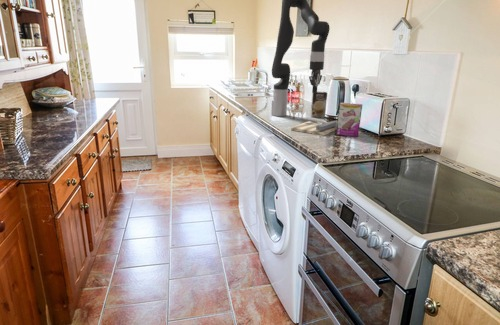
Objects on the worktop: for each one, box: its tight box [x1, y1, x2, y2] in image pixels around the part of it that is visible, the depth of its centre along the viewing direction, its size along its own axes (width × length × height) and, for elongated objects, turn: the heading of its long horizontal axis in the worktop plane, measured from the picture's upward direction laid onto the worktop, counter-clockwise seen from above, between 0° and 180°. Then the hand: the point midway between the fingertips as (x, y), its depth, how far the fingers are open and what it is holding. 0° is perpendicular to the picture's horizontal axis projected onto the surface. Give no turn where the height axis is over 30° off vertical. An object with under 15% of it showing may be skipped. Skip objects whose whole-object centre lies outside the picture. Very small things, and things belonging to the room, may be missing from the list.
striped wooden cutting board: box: [290, 119, 337, 136], centre depth 191 cm, size 20×25×2 cm
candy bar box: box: [335, 102, 363, 138], centre depth 176 cm, size 11×5×16 cm, turn 71°
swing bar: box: [316, 120, 338, 131], centre depth 185 cm, size 19×4×2 cm, turn 140°
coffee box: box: [309, 91, 328, 119], centre depth 223 cm, size 9×6×16 cm
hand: (314, 92), depth 192 cm, fingers closed
